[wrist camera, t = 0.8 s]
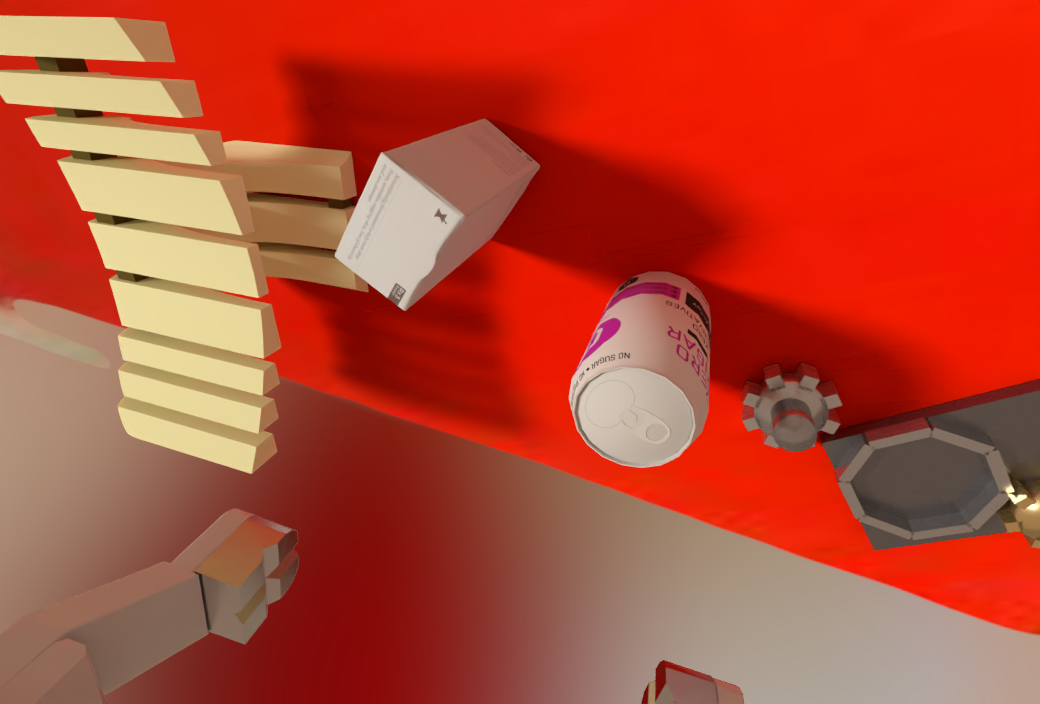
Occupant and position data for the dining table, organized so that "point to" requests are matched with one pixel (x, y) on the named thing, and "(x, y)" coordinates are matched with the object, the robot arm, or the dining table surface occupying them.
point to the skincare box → (433, 208)
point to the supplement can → (645, 372)
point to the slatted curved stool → (182, 230)
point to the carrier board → (945, 469)
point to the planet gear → (790, 407)
